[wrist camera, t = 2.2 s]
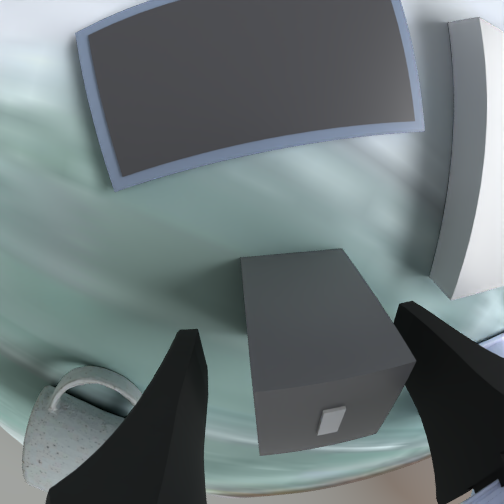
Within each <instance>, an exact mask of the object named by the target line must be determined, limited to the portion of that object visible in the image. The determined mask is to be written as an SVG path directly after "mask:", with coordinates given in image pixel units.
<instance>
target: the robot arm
mask: <svg viewBox="0 0 504 504" xmlns="http://www.w3.org/2000/svg"><path fill="white" fill-rule="evenodd" d="M393 324H394V325H395V327H396V328H397V330H398V331H399V333H400V335H401V336H402V338H403V340H404V341H405V343H406V344H407V346H408V348H409V349H410V351H411V353H412V354H413V356H414V358H415V359H416V363H415V365H414V367H413V369H412V371H411V373H410V375H409V377H408V379H407V381H406V383H405V386H406V388H407V390H408V391H409V393H410V395H411V397H412V399H413V401H414V404H415V406H416V408H417V410H418V412H419V415H420V417H421V420H422V423H423V426H424V429H425V432H426V436H427V439H428V443H429V447H430V451H431V456H432V461H433V467H434V473H435V483H436V499H437V502H438V504H447V503H448V502H450V501H452V500H454V499H456V498H458V497H459V496H461V495H463V494H465V493H466V492H468V491H470V490H471V489H473V490H472V493H471V497H469V498H468V499H466V500H465V501H463V502H461V503H460V504H504V333H502V334H500V335H498V336H496V337H493V338H491V339H489V340H487V341H484V342H482V343H480V344H477V343H475V342H474V341H472V340H471V339H469V338H467V337H466V336H464V335H463V334H461V333H460V332H458V331H457V330H455V329H454V328H452V327H451V326H449V325H448V324H447V323H445V322H444V321H442V320H441V319H439V318H438V317H436V316H435V315H434V314H432V313H431V312H429V311H428V310H426V309H425V308H423V307H422V306H420V305H418V304H417V303H415V302H413V301H410V302H405V303H400V304H399V306H398V310H397V313H396V317H395V320H394V323H393ZM207 403H208V369H207V364H206V360H205V356H204V353H203V349H202V345H201V340H200V336H199V332H198V329H188V330H179V331H178V332H177V334H176V337H175V339H174V341H173V343H172V345H171V347H170V349H169V350H168V352H167V354H166V356H165V358H164V360H163V362H162V363H161V365H160V367H159V369H158V370H157V372H156V374H155V375H154V377H153V379H152V381H151V382H150V384H149V385H148V387H147V388H146V390H145V391H144V393H143V394H142V396H141V397H140V399H139V401H138V402H137V403H136V405H135V406H134V408H133V409H132V410H131V412H130V413H129V414H128V416H127V417H126V418H125V419H124V421H123V422H122V423H121V424H120V426H119V427H118V428H117V429H116V430H115V431H114V432H113V434H112V435H111V436H110V437H109V438H108V439H107V440H106V441H105V442H104V444H103V445H102V446H101V447H100V448H99V449H98V450H97V451H95V452H94V453H93V454H92V455H91V456H90V457H89V458H88V459H87V460H86V461H85V462H84V463H82V464H81V465H80V466H79V467H78V468H77V469H75V470H74V471H73V472H72V473H70V474H69V475H68V476H66V477H65V478H64V479H62V480H61V481H59V482H58V483H57V484H55V485H54V486H52V487H51V488H50V489H49V491H48V495H47V498H46V504H207V502H206V490H205V475H204V440H205V427H206V415H207Z"/></svg>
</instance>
